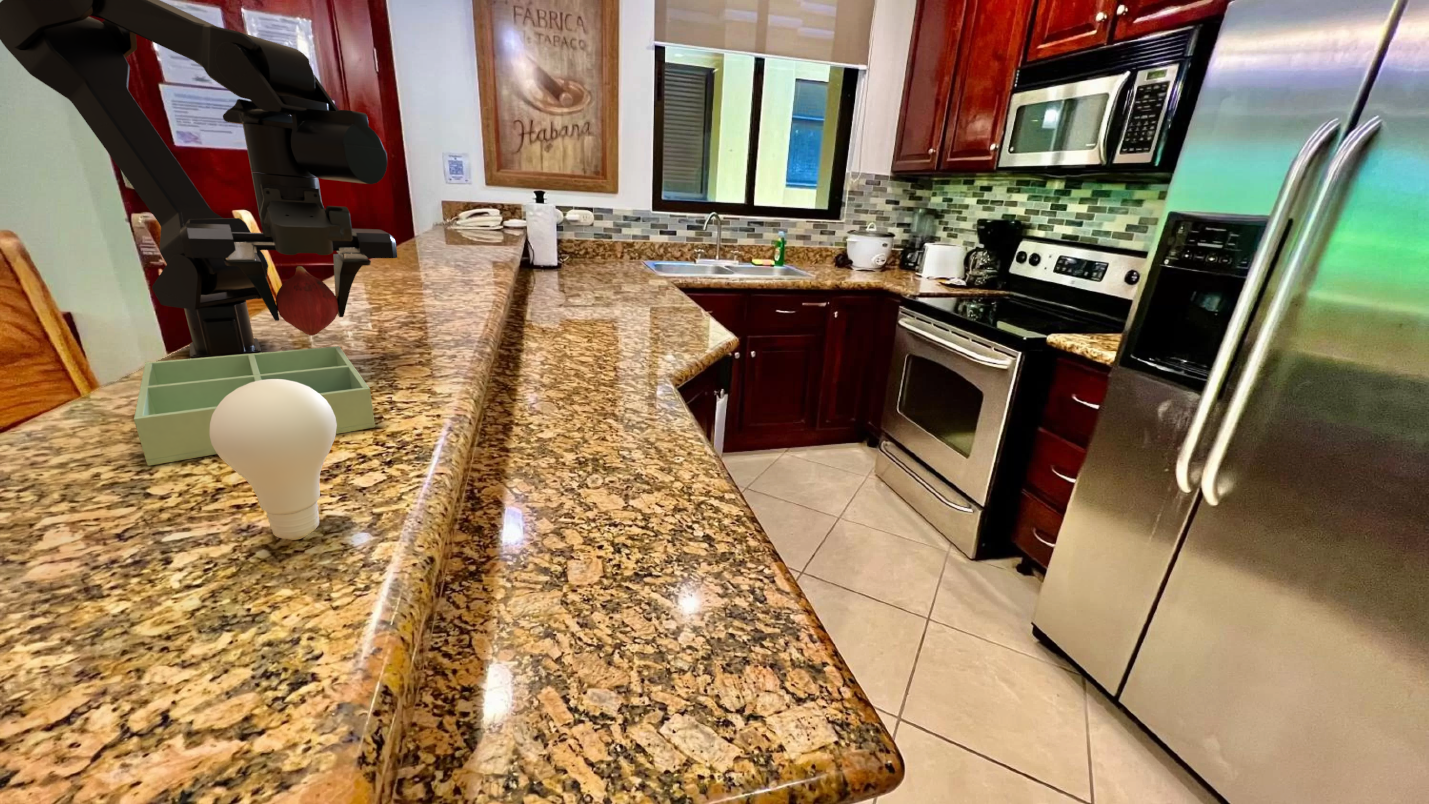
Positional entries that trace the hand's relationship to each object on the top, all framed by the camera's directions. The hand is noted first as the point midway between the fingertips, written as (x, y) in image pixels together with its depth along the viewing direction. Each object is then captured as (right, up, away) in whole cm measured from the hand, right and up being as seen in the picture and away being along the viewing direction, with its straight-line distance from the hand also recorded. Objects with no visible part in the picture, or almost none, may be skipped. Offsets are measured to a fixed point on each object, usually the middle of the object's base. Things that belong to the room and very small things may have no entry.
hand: (309, 318), depth 64 cm
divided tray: (+4, -11, -11) cm, 16 cm away
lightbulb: (+20, -19, -28) cm, 39 cm away
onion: (0, -2, +1) cm, 2 cm away
